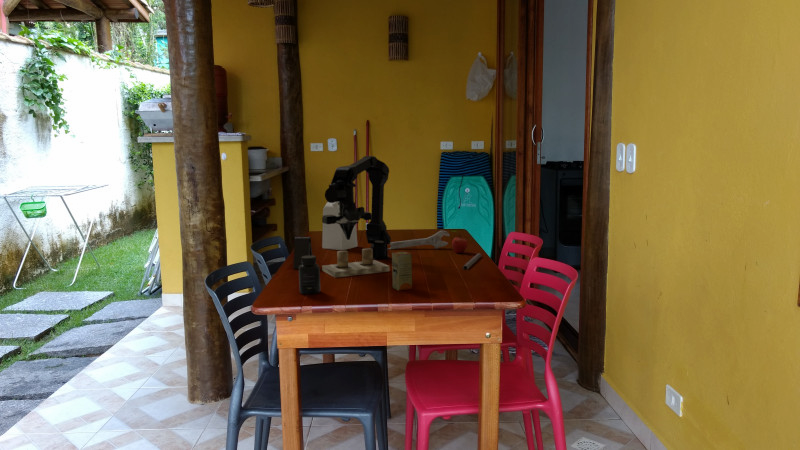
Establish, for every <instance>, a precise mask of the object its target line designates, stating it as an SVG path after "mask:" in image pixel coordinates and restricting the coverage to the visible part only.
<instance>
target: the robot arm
mask: <svg viewBox="0 0 800 450" xmlns="http://www.w3.org/2000/svg"><path fill="white" fill-rule="evenodd" d="M364 171H365V172H366V173H367V174H368V180H369V182H370V183H371V212H369V211H365V208H364V206H359V207H357V206H356V202H355V197H354V196H355V194H354V188H356V187H357V185H356V183H354V181H355V180H356V179H358V175H359V174H361V173H363V172H364ZM389 174H390V168H389V166H388V165H387V163H385V162H383V161H381V160H380V159H378V158H377V157H376V156H373V155H364V156H363V157H361V158H360V159H359V160H356V161H355V162H353V163H351V164H350V165H344V166H343V165H342V166H338V167H336V169H335V171H334V174H333V177H332V179H331V182H330V184H328V188H327V189H325V193H324V198H325V200H326V202H329V203H334V202H338V205H339V211H340V213H339V215H340V216H334V215H324V216H323V215H322V218H321V223H322V224H323V223H325V224H335V223H337V224H339V225H340V227H341V228H342V230H343V232H344V234H345V237H346V239H347V240H350V237H351V233H352V230H353V228H354V226H355V225H356V226H357V225H358V224H359V221H360V220H361V219H363V220H364V221H369V222H368V223H366V224H365V225H366V227H365V228H366V229H365V236H366V241H367V244H370V247H369V248H371V249H373V260H381V259H383V260H384V259H390V256H389V255H388V254H389V253H388V252H389V251H388V249H387V248H388V245H390V243H391V241H392V237H391V236H390V235H389V233H388V230H387V225H386V223H385V221H384V194H385V184H387V182H388V180H389ZM347 220H348V221H347ZM337 221H338V222H337Z"/></svg>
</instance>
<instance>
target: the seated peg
mask: <svg viewBox="0 0 800 450" xmlns="http://www.w3.org/2000/svg"><path fill="white" fill-rule="evenodd" d="M361 254H362V255H361V256H362V257H361V258H362V259H361V261H362V266H373V260H374V259H373V249H371V248H370V247H368V248H367V247H366V248H362V249H361Z"/></svg>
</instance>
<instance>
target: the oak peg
mask: <svg viewBox="0 0 800 450" xmlns="http://www.w3.org/2000/svg"><path fill="white" fill-rule="evenodd" d="M336 256H337V262H336V263H337V264H338V266H337V267H338V269H346V268H348V263H349V251H347V250H337V251H336Z"/></svg>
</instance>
